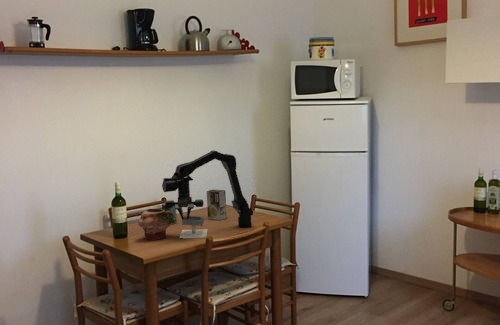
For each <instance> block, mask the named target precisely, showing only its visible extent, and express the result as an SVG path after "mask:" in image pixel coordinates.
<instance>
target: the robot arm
mask: <svg viewBox="0 0 500 325" xmlns="http://www.w3.org/2000/svg"><path fill="white" fill-rule="evenodd" d="M214 160H217V161H218V162H220V163H221V165H222V167H223V168H224V170H225V171H226V173H227V176H228V180H229V183H230V188H231V191H232V195H233V200H231V204H232V208H233V209H234V210H235V211H236V212H237V214H238V217H237V218H238V219H237V220H238V222H237V223H238V224H237V225H238V227H239V228H252V227H253V226H252V216H253V215H254V210H253V209H252V208H250V206H249V203H248V201H247V200H246V198H245V197H244V195H243V191H242V188H241V184H240V181H239V177H238V174H237V173H238V172H237V171H236V170H237V158H236V157H235V155H233V154H227V153H221V152H219V151H218V150H214V149H213V150H211V151H209V152H207V153H204V154H203V155H201V156H199V157H197V158H196V159H194V160H191V161H188V162H184V163H180V164H178V165H177V166H176V168H175V171H174V173H173V175H172V176H171V177H165V178H163V179H162V180H163V181H162V185H161V187H162V191H163V193H168V192H169V193H170V192H176V191H177V196H178V197H177V201H175V200H173V199H172V200H166V201H165V202H166V203H165V202H164V203H165V208H172V207H173V206H175V209H176V211H178V213H179V216H180V218H181V220H183V217H184V211H183V208H187V211H186V213H187V214H186V215H187V219H188V218H189V216H191V215H190V213H191V211H192V209H193V210H194V208H195V207H196V208H203V207H204V203H205V202H204V200H203V199H195V200H193V198H192V196H191V191H190V190H191V189H190V181H194V179H193V178H192V177H191V176H190V175H192V174H193V172H194V171H195V170H197V169H199V168H200V167H202V166H204V165H206V164H208V163H210V162H212V161H214Z"/></svg>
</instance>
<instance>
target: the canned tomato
mask: <svg viewBox="0 0 500 325" xmlns="http://www.w3.org/2000/svg"><path fill="white" fill-rule="evenodd" d="M166 202H167V201H165V202H163V203H161V209H162V210H165V211H166V212H167V211H170V212H172V213H173V215H174V219H173V221H172V223H171V224H170V225H175V223H176V224H177V223H178V220H177V218H178V217H177V209H175V206H173V207H172V208H165V203H166ZM168 219H169V222H170V221H171V216H170V215H168Z"/></svg>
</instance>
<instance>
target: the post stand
mask: <svg viewBox="0 0 500 325" xmlns="http://www.w3.org/2000/svg"><path fill="white" fill-rule="evenodd" d="M208 232H209V229H208V228H206V229H197V228H196V226H195V225H191V229H182V231H181V232H180V235H179V239H180V238H183V239H206V238H207V236H208Z"/></svg>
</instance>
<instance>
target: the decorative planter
mask: <svg viewBox="0 0 500 325" xmlns="http://www.w3.org/2000/svg"><path fill="white" fill-rule="evenodd" d="M168 215H170V216H171V221H170V222H169V219H168ZM173 219H174V215H173V213H172V212H170V211H167V212H166V211H165V210H162V208H148V209H146V210H145V211H143V212H142V213H141V215H140V218H139V220H138V226H139V227H141V229H142V230H143V231H144V238H145V239H147V240H151V241H152V240H153V241H154V240H155V241H156V240H157V239H158V240H163V239H165V237H166V235H167V229H168V228H169V227H170V226H171V225H172V224H171V223H172V221H173ZM162 238H163V239H162Z"/></svg>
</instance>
